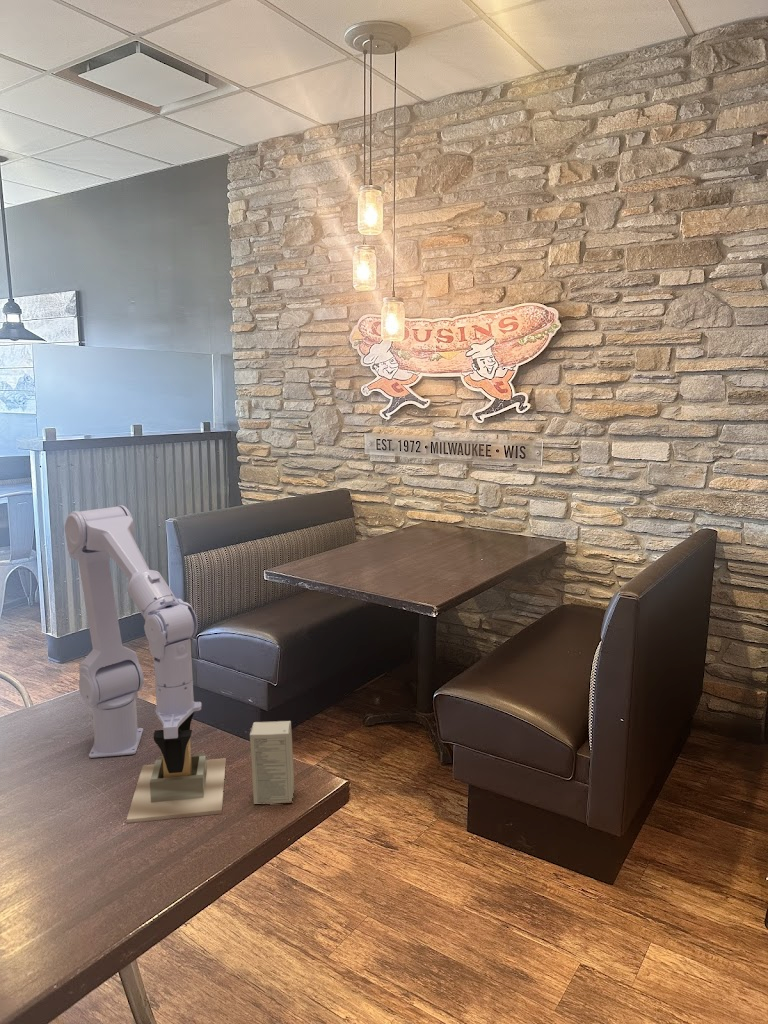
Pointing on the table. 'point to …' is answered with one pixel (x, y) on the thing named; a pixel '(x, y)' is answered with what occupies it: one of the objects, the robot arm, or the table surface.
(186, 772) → the peg
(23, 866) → the table surface
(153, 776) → the socket stand
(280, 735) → the skincare box
